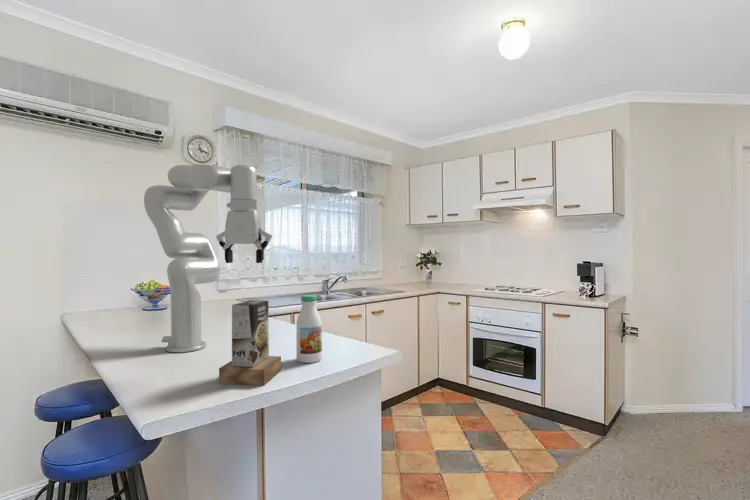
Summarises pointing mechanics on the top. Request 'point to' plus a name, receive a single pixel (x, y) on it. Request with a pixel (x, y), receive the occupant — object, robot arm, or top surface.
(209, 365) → the top surface
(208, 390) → the top surface
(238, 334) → the cookie box
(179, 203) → the robot arm
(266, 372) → the plinth
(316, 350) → the milk bottle
